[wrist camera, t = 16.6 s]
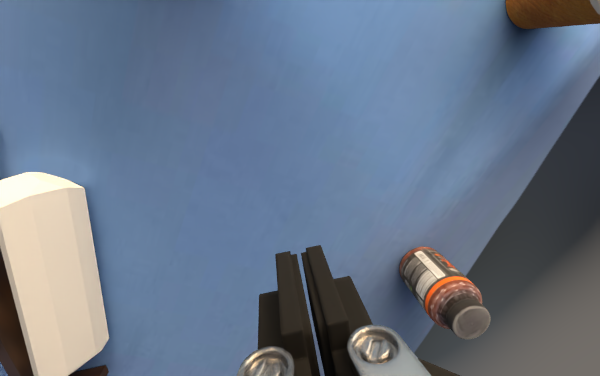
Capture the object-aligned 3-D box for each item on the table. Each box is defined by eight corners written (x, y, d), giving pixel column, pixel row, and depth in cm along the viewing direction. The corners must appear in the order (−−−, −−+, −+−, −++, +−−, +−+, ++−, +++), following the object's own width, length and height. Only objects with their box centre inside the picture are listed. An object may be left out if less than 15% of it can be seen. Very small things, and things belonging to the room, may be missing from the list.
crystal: (115, 373, 37) (83, 175, 30) (36, 406, 32) (-23, 185, 26) (108, 334, 42) (79, 161, 35) (40, 358, 38) (-8, 167, 31)
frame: (-71, 129, 31) (-132, 136, 26) (-6, 118, 31) (-54, 123, 26) (60, 382, 41) (34, 420, 36) (109, 371, 41) (88, 408, 36)
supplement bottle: (448, 260, 42) (512, 318, 31) (417, 291, 43) (469, 358, 32) (419, 236, 40) (476, 288, 30) (388, 268, 41) (432, 330, 30)
